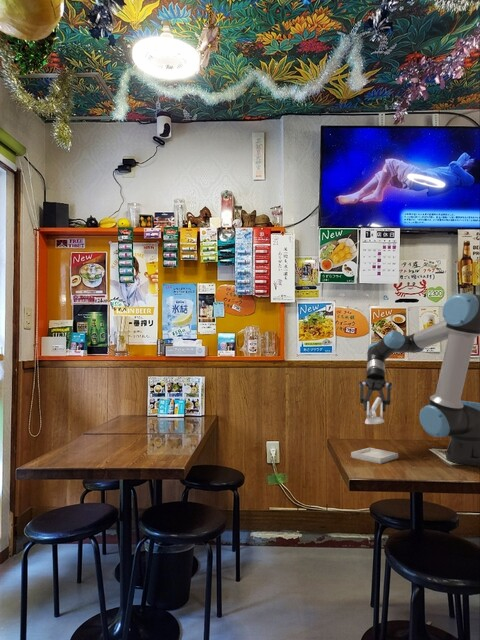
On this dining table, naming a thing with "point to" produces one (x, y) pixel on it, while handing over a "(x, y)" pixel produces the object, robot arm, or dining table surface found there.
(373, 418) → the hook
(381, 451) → the tray
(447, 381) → the robot arm
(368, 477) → the dining table surface
